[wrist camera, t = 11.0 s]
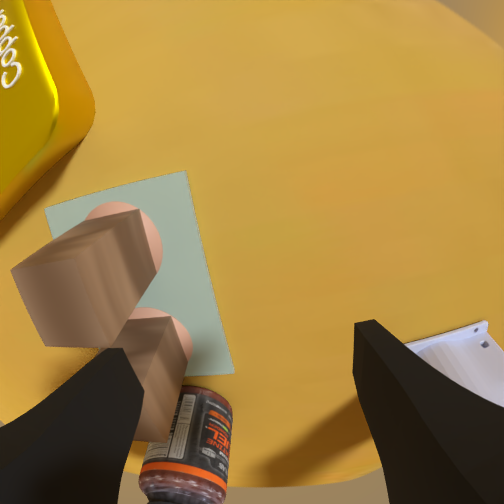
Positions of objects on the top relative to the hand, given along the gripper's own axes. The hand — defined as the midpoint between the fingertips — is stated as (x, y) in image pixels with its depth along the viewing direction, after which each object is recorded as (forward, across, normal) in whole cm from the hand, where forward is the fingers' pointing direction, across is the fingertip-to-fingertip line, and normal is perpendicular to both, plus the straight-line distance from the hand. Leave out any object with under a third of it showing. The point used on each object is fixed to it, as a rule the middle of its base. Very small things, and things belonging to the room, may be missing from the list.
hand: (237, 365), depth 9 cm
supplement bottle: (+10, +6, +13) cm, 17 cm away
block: (+9, +8, +6) cm, 13 cm away
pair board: (+9, +8, +2) cm, 12 cm away
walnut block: (+9, +8, -2) cm, 12 cm away
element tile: (+10, +16, -14) cm, 23 cm away
